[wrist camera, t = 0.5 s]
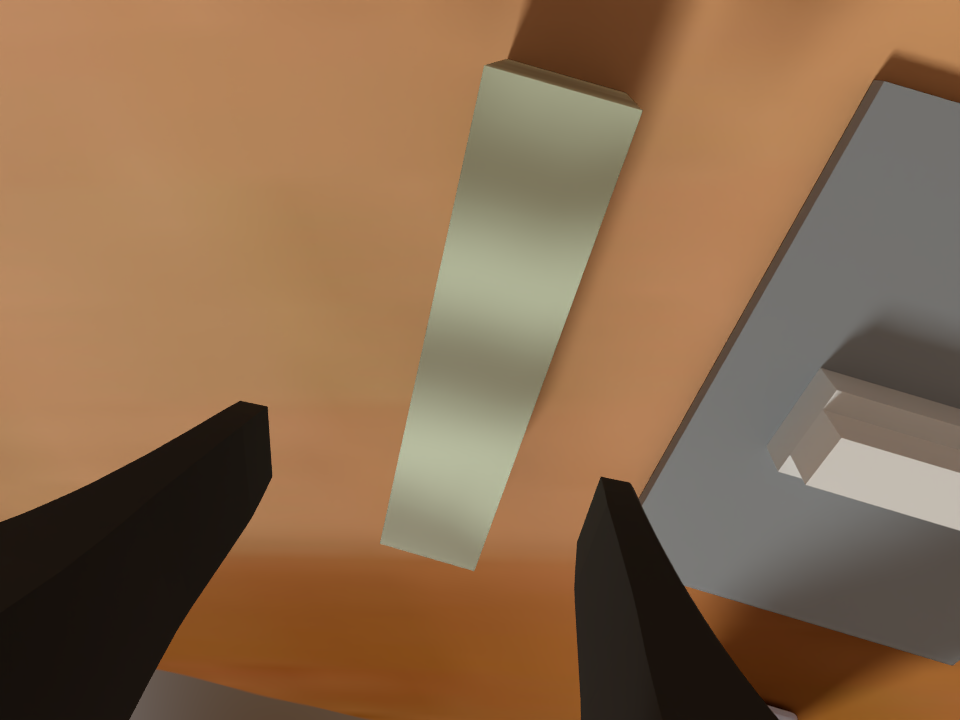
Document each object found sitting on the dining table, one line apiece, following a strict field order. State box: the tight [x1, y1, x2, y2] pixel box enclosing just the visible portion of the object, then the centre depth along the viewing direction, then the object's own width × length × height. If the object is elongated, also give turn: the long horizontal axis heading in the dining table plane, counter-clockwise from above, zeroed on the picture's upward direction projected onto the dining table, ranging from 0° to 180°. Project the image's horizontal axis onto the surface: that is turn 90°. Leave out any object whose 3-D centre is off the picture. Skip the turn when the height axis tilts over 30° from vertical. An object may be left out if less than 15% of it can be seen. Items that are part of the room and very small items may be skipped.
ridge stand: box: [639, 80, 960, 666], centre depth 19 cm, size 20×16×4 cm
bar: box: [380, 59, 643, 571], centre depth 18 cm, size 16×4×5 cm, turn 166°
